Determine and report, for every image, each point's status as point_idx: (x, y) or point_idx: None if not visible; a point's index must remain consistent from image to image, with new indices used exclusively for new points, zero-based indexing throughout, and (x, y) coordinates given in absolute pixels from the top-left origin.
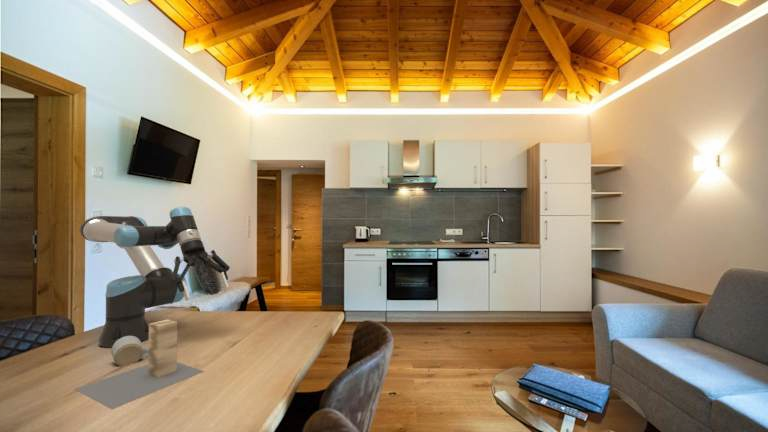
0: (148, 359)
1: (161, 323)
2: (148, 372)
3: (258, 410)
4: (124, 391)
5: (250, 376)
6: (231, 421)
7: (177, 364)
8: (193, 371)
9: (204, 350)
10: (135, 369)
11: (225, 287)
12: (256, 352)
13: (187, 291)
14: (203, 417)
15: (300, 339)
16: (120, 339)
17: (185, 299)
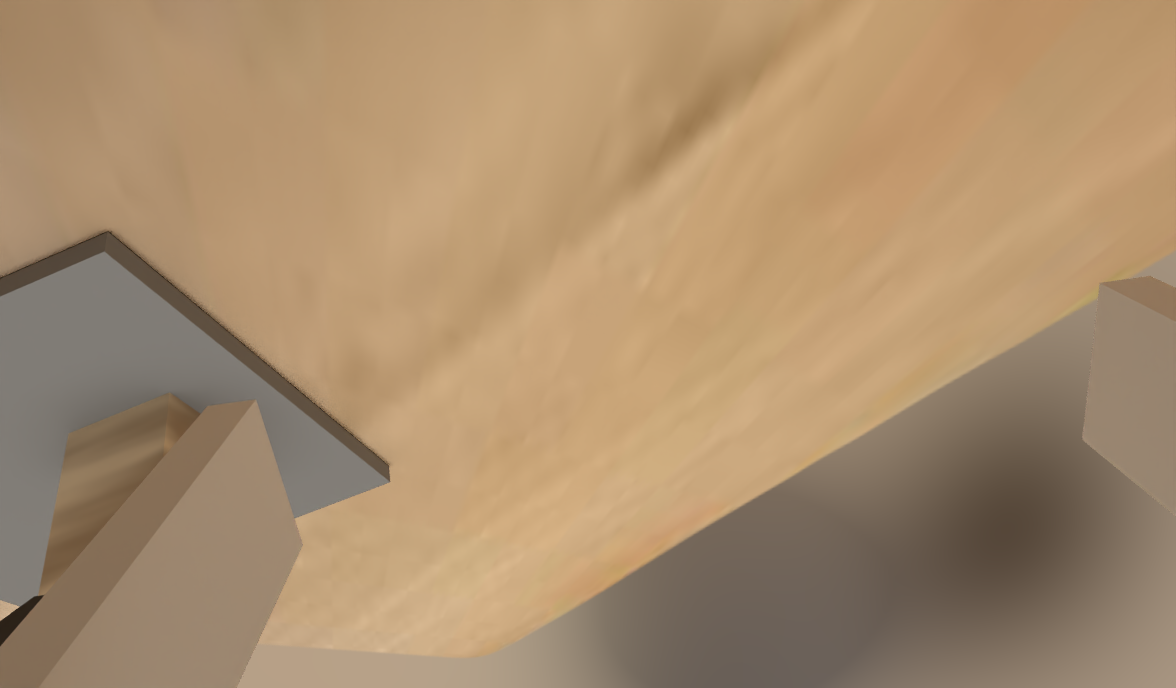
0: (53, 519)
1: None
2: (69, 443)
3: (499, 631)
4: (18, 539)
5: (557, 515)
6: (427, 648)
7: (234, 378)
8: (336, 470)
9: (431, 145)
10: None
11: (1112, 382)
12: (708, 337)
13: (241, 648)
14: (362, 634)
15: (1015, 269)
16: None
17: (197, 429)
